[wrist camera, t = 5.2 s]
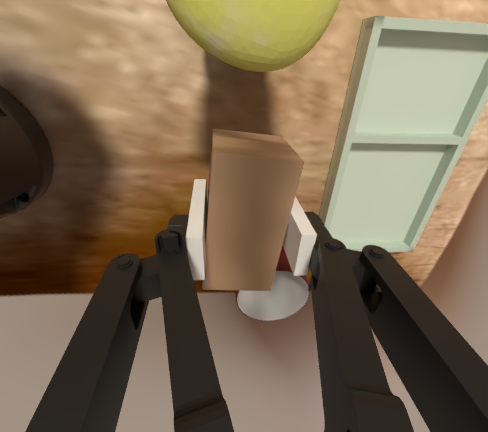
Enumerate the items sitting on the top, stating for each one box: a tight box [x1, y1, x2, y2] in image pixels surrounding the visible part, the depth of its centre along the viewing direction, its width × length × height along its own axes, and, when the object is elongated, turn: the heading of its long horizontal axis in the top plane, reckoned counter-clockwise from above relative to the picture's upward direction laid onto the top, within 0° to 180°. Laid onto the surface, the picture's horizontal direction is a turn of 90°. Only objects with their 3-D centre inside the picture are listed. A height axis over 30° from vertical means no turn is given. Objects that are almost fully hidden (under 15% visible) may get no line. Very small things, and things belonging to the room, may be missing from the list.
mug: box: [235, 245, 310, 321], centre depth 31 cm, size 10×8×10 cm
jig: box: [319, 16, 488, 252], centre depth 30 cm, size 14×26×2 cm, turn 178°
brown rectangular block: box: [202, 128, 304, 291], centre depth 17 cm, size 4×9×5 cm, turn 172°
